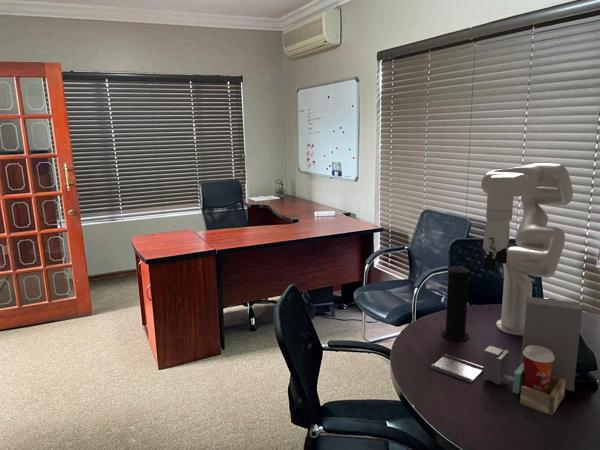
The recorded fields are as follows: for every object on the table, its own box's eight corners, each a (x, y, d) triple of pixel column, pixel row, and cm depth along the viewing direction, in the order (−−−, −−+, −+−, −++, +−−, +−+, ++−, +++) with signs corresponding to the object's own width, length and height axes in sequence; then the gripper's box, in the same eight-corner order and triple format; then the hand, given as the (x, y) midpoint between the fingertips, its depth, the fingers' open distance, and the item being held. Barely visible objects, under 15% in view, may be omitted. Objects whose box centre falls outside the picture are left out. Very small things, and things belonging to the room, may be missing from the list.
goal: (533, 385, 129) (535, 367, 127) (564, 395, 123) (566, 377, 122) (520, 403, 120) (521, 384, 119) (552, 415, 115) (554, 395, 114)
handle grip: (442, 341, 157) (472, 343, 155) (445, 270, 151) (476, 271, 149) (439, 329, 166) (467, 330, 164) (442, 262, 161) (471, 263, 159)
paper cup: (540, 408, 118) (545, 360, 115) (513, 394, 124) (517, 349, 121) (556, 398, 122) (561, 352, 119) (529, 385, 128) (533, 341, 126)
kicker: (489, 370, 135) (491, 343, 133) (526, 383, 127) (529, 355, 126) (480, 380, 130) (482, 352, 128) (518, 393, 123) (521, 364, 121)
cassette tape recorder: (571, 381, 130) (580, 301, 125) (573, 392, 125) (583, 309, 120) (519, 371, 136) (525, 295, 131) (519, 381, 131) (526, 302, 126)
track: (444, 356, 146) (444, 353, 146) (484, 370, 137) (484, 366, 137) (431, 367, 139) (431, 364, 139) (471, 382, 131) (471, 379, 130)
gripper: (497, 209, 147) (493, 258, 151) (476, 217, 135) (473, 270, 139) (520, 211, 142) (517, 262, 146) (501, 220, 130) (497, 275, 133)
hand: (495, 266), depth 142 cm, fingers open, 9 cm apart
